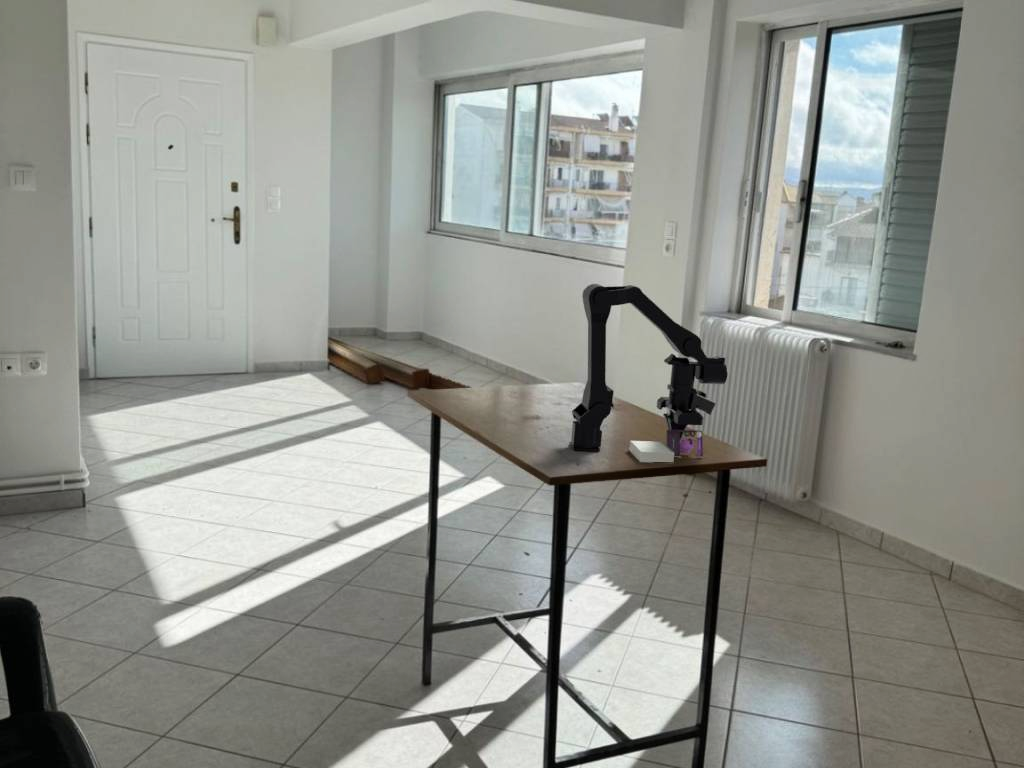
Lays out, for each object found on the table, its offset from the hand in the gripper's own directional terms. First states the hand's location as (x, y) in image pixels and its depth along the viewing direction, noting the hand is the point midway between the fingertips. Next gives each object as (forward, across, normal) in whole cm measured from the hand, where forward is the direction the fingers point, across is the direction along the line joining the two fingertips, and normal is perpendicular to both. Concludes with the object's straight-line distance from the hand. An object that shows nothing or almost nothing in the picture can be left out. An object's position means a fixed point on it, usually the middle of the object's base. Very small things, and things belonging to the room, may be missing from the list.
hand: (675, 444), depth 233 cm
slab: (+2, -6, +8) cm, 10 cm away
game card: (+2, -4, 0) cm, 5 cm away
